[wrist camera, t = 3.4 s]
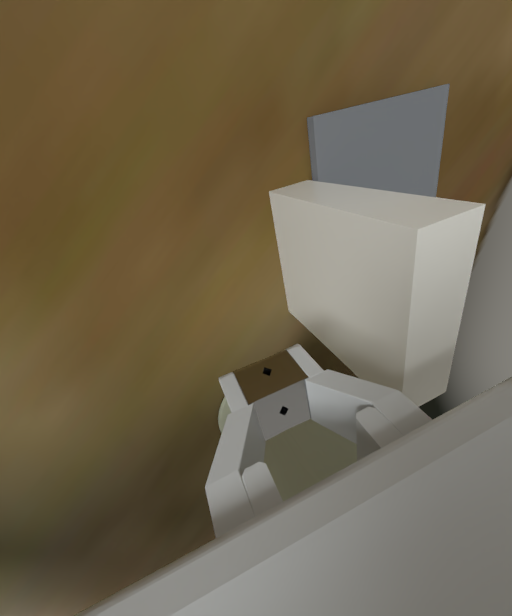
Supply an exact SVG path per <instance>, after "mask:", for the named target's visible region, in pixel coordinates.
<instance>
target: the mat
mask: <svg viewBox="0 0 512 616" xmlns="http://www.w3.org/2000/svg"><path fill="white" fill-rule="evenodd" d="M448 92H449V84H446V85H441V86H437V87H433V88H429V89H424V90H420V91H416V92H412V93H408V94H404V95H399V96H395V97H391V98H387V99H383V100H379V101H375V102H370V103H366V104H362V105H358V106H354V107H350V108H345V109H341V110H337V111H333V112H329V113H325V114H320V115H316V116H312V117H308V118H307V125H308V136H309V147H310V158H311V169H312V180H313V181H319V182H326V183H333V184H341V185H348V186H355V187H363V188H370V189H377V190H385V191H392V192H400V193H407V194H414V195H422V196H429V197H436V191H437V183H438V175H439V167H440V158H441V150H442V142H443V134H444V125H445V117H446V109H447V101H448Z"/></svg>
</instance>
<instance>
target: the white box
mask: <svg viewBox="0 0 512 616" xmlns="http://www.w3.org/2000/svg"><path fill="white" fill-rule="evenodd" d="M269 195H270V201H271V207H272V213H273V219H274V225H275V231H276V237H277V243H278V249H279V255H280V261H281V267H282V273H283V279H284V285H285V291H286V297H287V303H288V309H289V312H290V313H291V314H292V315H293V316H295V317H296V318H297V319H298V320H299V321H300V322H301V323H302V324H303V325H304V326H305V327H306V328H307V329H308V330H309V331H310V332H311V333H312V334H313V335H314V336H316V337H317V338H318V339H319V340H320V341H321V342H322V343H323V344H324V345H325V346H326V347H327V348H328V349H329V350H330V351H331V352H332V353H333V354H334V355H335V356H337V357H338V358H339V359H340V360H341V361H342V362H343V363H344V364H345V365H346V366H347V367H348V368H349V369H350V370H351V371H352V372H353V373H354V374H355V375H356V376H358V377H359V378H360V379H362V380H366V381H369V382H373V383H376V384H379V385H383V386H386V387H389V388H393V389H396V390H399V391H400V392H401V393H402V394H404V395H405V396H406V397H407V398H408V399H409V400H411V401H412V402H413V403H414V404H415V405H416V406H417V407H419V406H421V405H423V404H424V403H426V402H428V401H430V400H432V399H433V398H435V397H437V396H439V395H441V394H443V393H445V392H446V389H447V384H448V379H449V375H450V371H451V366H452V361H453V356H454V352H455V346H456V342H457V337H458V333H459V328H460V322H461V318H462V313H463V309H464V304H465V298H466V294H467V289H468V285H469V280H470V275H471V271H472V266H473V261H474V256H475V252H476V247H477V242H478V237H479V232H480V228H481V223H482V218H483V213H484V209H485V204H481V203H473V202H466V201H459V200H451V199H444V198H436V197H429V196H422V195H414V194H407V193H400V192H392V191H385V190H377V189H370V188H363V187H355V186H348V185H341V184H333V183H326V182H319V181H311V180H307V181H303V182H300V183H297V184H293V185H290V186H286V187H283V188H280V189H276V190H273V191H269Z"/></svg>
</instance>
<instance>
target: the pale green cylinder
mask: <svg viewBox="0 0 512 616" xmlns="http://www.w3.org/2000/svg"><path fill="white" fill-rule="evenodd" d="M230 413H231V411H230V408H229V406H228V403H227V400H226V398H225V397H224V399H223V401H222V403H221V406H220V409H219V415H218V423H219V428H220V431H221V433H222V431H223V428H224V424H225V421H226V418H227V415H228V414H230ZM265 442H266V445H265V454H264V463H266V465H267V467H268V469H269V471H270V474H271V476H272V478H273V480H274V483H275V485H276V487H277V489H278V491H279V494H280V496H281V498H282V500H283V501H285V500H287V499H289V498H290V497H292V496H294V495H296V494H298V493H300V492H301V491H303V490H305V489H307V488H309V487H311V486H312V485H314V484H316V483H318V482H320V481H322V480H323V479H325V478H327V477H329V476H331V475H333V474H334V473H336V472H338V471H340V470H342V469H344V468H345V467H347V466H349V465H351V464H353V463H355V462H356V461H357V444H355V443H354V442H352V441H350V440H348V439H346V438H344V437H343V436H341V435H339V434H337V433H335V432H333V431H331V430H330V429H328V428H326V427H324V426H322V425H320V424H318V423H317V422H315V421H313V420H312V419H309V420H307V421H305V422H303V423H301V424H298V425H296V426H294V427H292V428H290V429H287V430H285V431H284V432H282V433H280V434H278V435H276V436H274V437H272V438H270V439H268V440H266V441H265Z"/></svg>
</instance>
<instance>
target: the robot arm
mask: <svg viewBox="0 0 512 616" xmlns="http://www.w3.org/2000/svg"><path fill="white" fill-rule="evenodd" d="M218 378H219V382H220V385H221V387H222V390H223V393H224V395H225V398H226V400H227V403H228V406H229V408H230V411H231V413H230V414H228V415H227V418H226V421H225V424H224V428H223V431H222V434H221V437H220V440H219V444H218V447H217V450H216V453H215V456H214V460H213V463H212V466H211V469H210V472H209V476H208V479H207V482H206V485H205V490H206V495H207V499H208V504H209V509H210V513H211V518H212V523H213V527H214V532H215V536H216V538H215V539H213V540H212V541H210V542H208V543H206V544H204V545H202V546H201V547H199V548H197V549H195V550H193V551H191V552H190V553H188V554H186V555H184V556H182V557H180V558H179V559H177V560H175V561H173V562H171V563H169V564H168V565H166V566H164V567H162V568H160V569H158V570H157V571H155V572H153V573H151V574H149V575H147V576H146V577H144V578H142V579H140V580H138V581H136V582H135V583H133V584H131V585H129V586H127V587H125V588H124V589H122V590H120V591H118V592H116V593H114V594H113V595H111V596H109V597H107V598H105V599H103V600H102V601H100V602H98V603H96V604H94V605H92V606H91V607H89V608H87V609H85V610H83V611H81V612H80V613H78V614H76V615H74V616H512V377H510V378H508V379H507V380H505V381H503V382H501V383H499V384H497V385H496V386H494V387H492V388H490V389H488V390H487V391H485V392H483V393H481V394H479V395H477V396H475V397H474V398H472V399H470V400H468V401H466V402H464V403H463V404H461V405H459V406H457V407H455V408H453V409H452V410H450V411H448V412H446V413H444V414H442V415H441V416H439V417H437V418H435V419H433V420H432V419H431V418H430V417H429V416H428V415H427V414H425V413H424V412H423V411H422V410H421V409H420V408H419V407H417V406H416V405H415V404H414V403H413V402H412V401H411V400H409V399H408V398H407V397H406V396H405V395H404V394H402V393H401V392H400V391H399V390H396V389H393V388H389V387H386V386H383V385H379V384H376V383H373V382H369V381H366V380H362V379H359V378H356V377H352V376H349V375H346V374H342V373H339V372H336V371H332V370H329V369H327V370H325V371H324V370H323V369H322V368H321V367H320V366H319V365H318V364H317V363H316V362H315V361H314V359H313V358H312V357H311V356H310V355H309V354H308V353H307V352H306V351H305V350H304V349H303V347H302V346H301V345H299V344H296V345H294V346H292V347H289V348H287V349H285V350H283V351H281V352H278V353H276V354H274V355H272V356H269V357H267V358H265V359H262V360H260V361H258V362H255V363H253V364H250V365H248V366H245V367H243V368H240V369H238V370H235V371H233V372H231V373H228V374H226V375H223V376H221V377H218ZM309 419H312V420H313V421H315V422H317V423H318V424H320V425H322V426H324V427H326V428H328V429H330V430H331V431H333V432H335V433H337V434H339V435H341V436H343V437H344V438H346V439H348V440H350V441H352V442H354V443H355V444H357V461H356V462H355V463H353V464H351V465H349V466H347V467H345V468H344V469H342V470H340V471H338V472H336V473H334V474H333V475H331V476H329V477H327V478H325V479H323V480H322V481H320V482H318V483H316V484H314V485H312V486H311V487H309V488H307V489H305V490H303V491H301V492H300V493H298V494H296V495H294V496H292V497H290V498H289V499H287V500H285V501H283V500H282V498H281V496H280V494H279V491H278V489H277V487H276V485H275V483H274V480H273V478H272V476H271V474H270V471H269V469H268V467H267V465H266V463H264V454H265V445H266V442H265V441H266V440H268V439H270V438H272V437H274V436H276V435H278V434H280V433H282V432H284V431H285V430H287V429H290V428H292V427H294V426H296V425H298V424H301V423H303V422H305V421H307V420H309Z"/></svg>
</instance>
